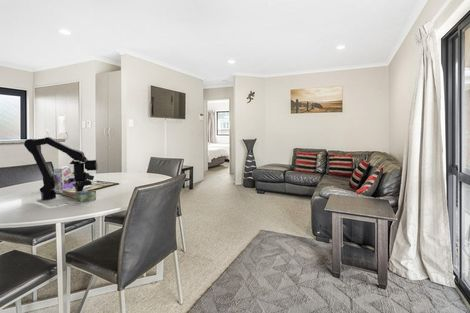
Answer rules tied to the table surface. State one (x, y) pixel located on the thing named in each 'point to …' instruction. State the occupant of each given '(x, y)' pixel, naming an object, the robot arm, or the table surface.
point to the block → (83, 192)
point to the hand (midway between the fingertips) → (80, 194)
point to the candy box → (63, 177)
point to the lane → (81, 197)
